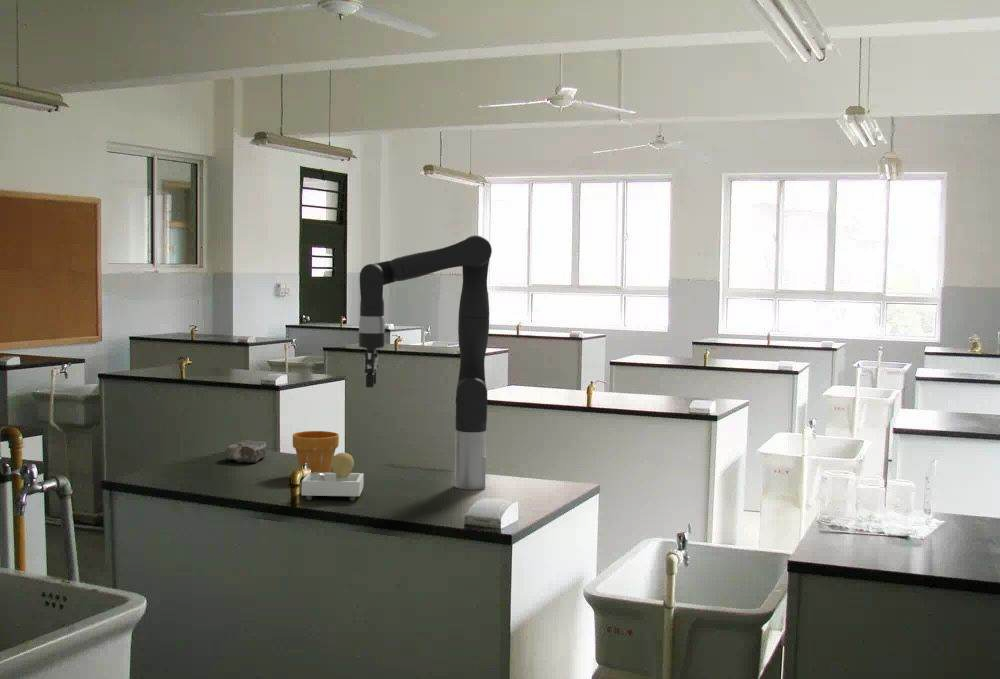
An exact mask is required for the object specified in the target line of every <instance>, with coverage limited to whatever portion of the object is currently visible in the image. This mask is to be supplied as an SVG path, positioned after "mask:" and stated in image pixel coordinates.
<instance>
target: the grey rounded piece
mask: <svg viewBox="0 0 1000 679" xmlns="http://www.w3.org/2000/svg"><path fill="white" fill-rule="evenodd" d="M310 481H325V473H323V472H313V473H310Z"/></svg>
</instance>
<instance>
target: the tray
mask: <svg viewBox="0 0 1000 679" xmlns="http://www.w3.org/2000/svg"><path fill="white" fill-rule="evenodd" d="M336 476H337V475H336V474H335V472H330V473H325V481H310V473H308V474H307V475H306V476H305V477H303V479H302V480H301V496H306V500H307V501H312V499H313V496H314V497H316V496H318V497H319V496H321V497H322V496H323V497H324V496H325V497H326V496H327V497H349V500H350V502H354V501H355V500H356V497H360V496H361V494H362V491H363V489H364V484H365V483H364V480H365V478H364V472H362V473H360V472H350V473H349V475H348V476H349V481H336Z"/></svg>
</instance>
